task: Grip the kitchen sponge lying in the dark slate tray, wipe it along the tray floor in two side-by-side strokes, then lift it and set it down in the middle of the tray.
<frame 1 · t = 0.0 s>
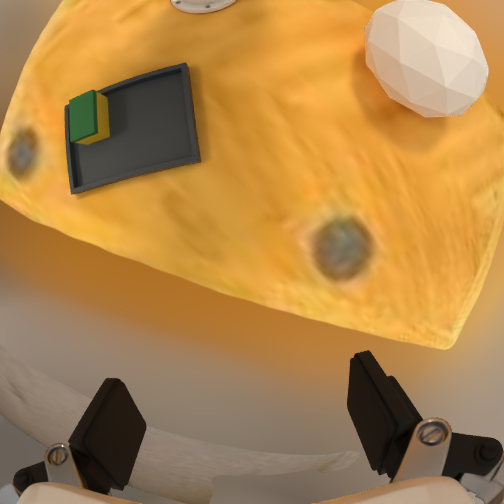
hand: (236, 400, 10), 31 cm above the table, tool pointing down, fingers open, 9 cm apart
geometric sphere: (397, 74, 34), on the table
tray: (126, 129, 35), on the table
sponge: (97, 121, 34), point 1 cm above the table, touching tray
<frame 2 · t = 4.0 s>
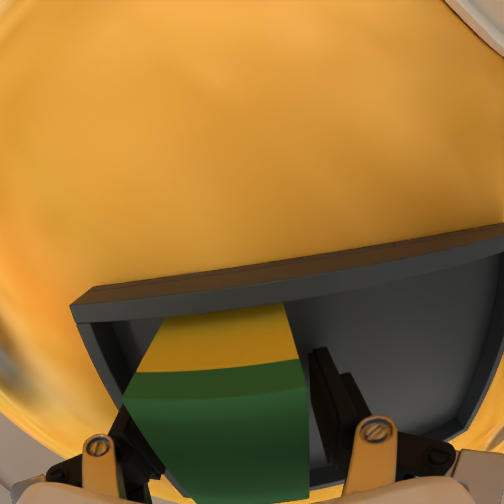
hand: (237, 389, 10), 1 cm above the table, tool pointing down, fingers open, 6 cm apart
tray: (343, 394, 12), on the table
sponge: (238, 376, 11), point 1 cm above the table, touching tray
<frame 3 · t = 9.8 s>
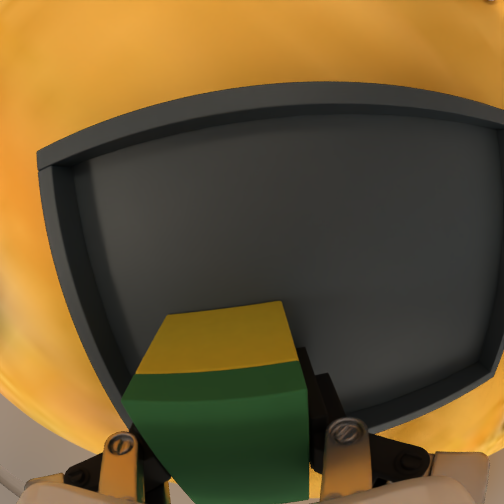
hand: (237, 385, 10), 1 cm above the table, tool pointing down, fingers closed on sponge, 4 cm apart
tray: (343, 292, 11), on the table
sponge: (237, 377, 11), point 1 cm above the table, touching gripper
when the fingers open (1 cm above the table, at t = 15.1 s): sponge stays where it is, resting on tray.
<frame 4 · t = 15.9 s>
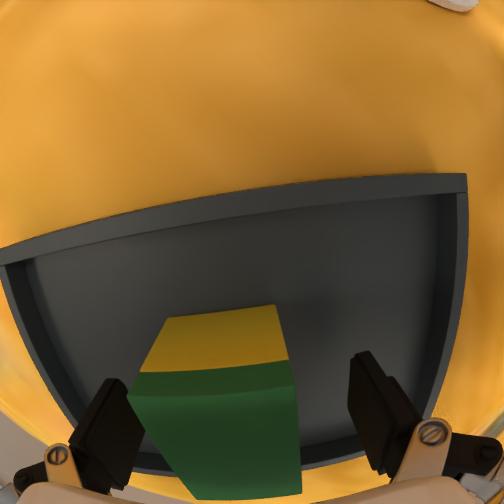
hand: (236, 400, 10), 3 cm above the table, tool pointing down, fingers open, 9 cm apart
tray: (236, 365, 12), on the table
sponge: (234, 376, 12), point 1 cm above the table, touching tray
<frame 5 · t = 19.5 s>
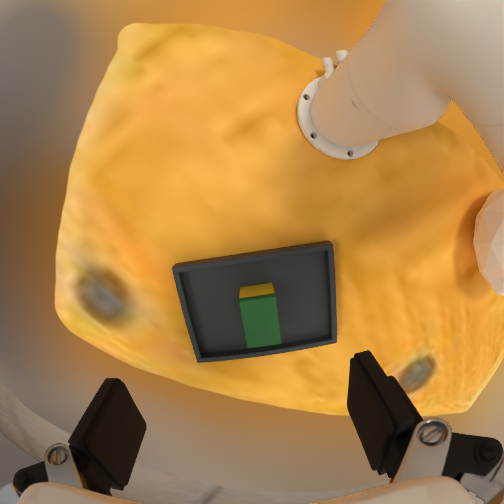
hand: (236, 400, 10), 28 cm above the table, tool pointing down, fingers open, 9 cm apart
geometric sphere: (484, 231, 37), on the table
tray: (259, 304, 39), on the table
sponge: (259, 307, 39), point 1 cm above the table, touching tray
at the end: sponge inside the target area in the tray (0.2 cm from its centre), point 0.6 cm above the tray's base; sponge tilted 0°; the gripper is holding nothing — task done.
